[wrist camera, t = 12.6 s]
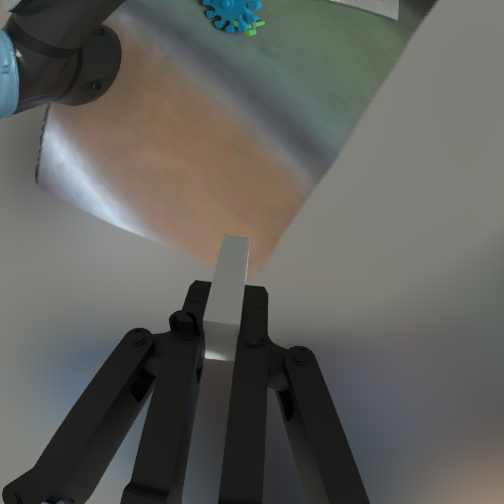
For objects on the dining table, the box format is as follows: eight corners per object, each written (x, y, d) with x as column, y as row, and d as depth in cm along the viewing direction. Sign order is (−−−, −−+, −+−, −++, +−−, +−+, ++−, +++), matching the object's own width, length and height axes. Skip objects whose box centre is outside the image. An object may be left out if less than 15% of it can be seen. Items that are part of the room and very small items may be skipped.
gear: (190, -8, 26) (233, -39, 19) (220, -14, 28) (264, -40, 21) (220, 48, 33) (269, 28, 26) (248, 39, 35) (296, 21, 28)
